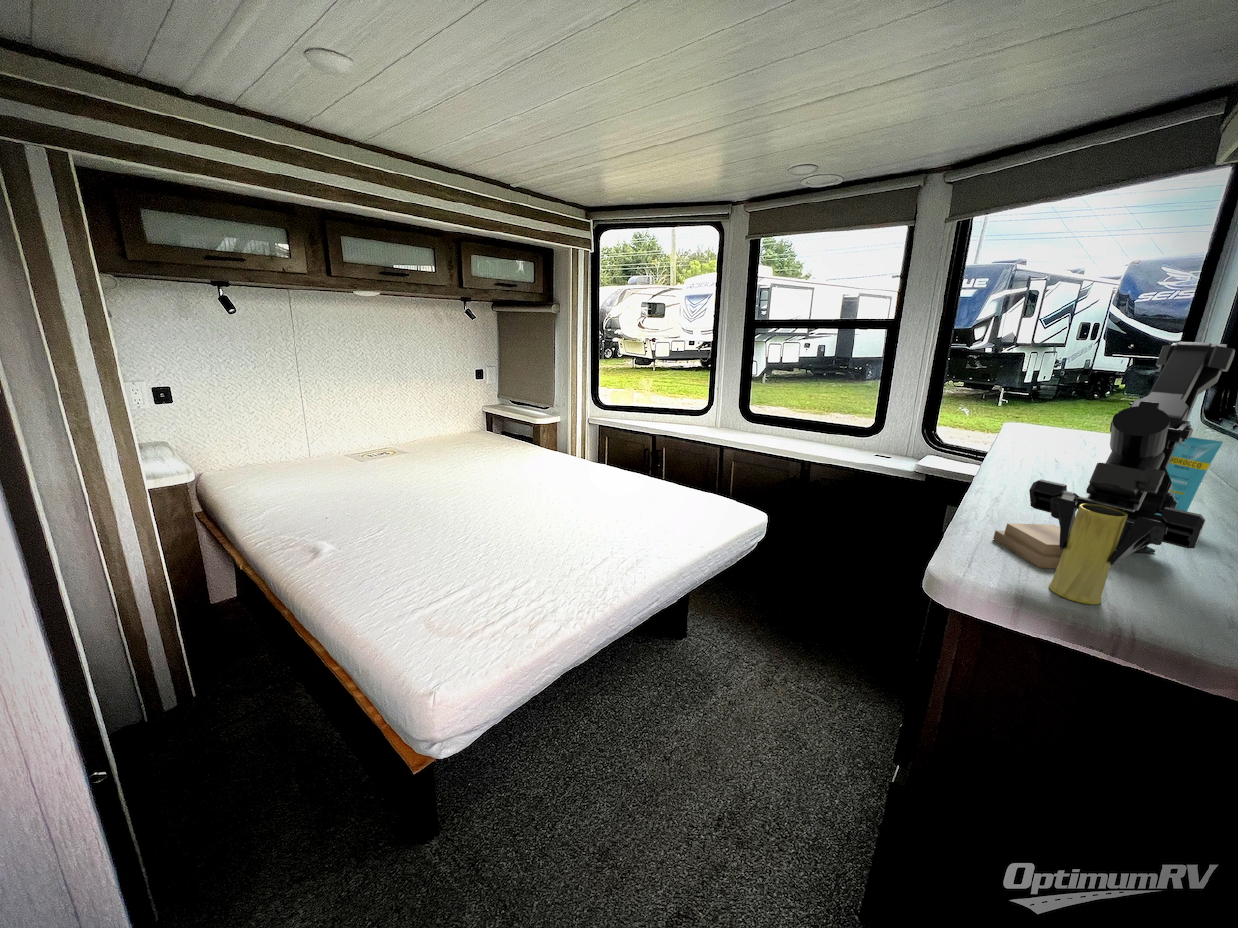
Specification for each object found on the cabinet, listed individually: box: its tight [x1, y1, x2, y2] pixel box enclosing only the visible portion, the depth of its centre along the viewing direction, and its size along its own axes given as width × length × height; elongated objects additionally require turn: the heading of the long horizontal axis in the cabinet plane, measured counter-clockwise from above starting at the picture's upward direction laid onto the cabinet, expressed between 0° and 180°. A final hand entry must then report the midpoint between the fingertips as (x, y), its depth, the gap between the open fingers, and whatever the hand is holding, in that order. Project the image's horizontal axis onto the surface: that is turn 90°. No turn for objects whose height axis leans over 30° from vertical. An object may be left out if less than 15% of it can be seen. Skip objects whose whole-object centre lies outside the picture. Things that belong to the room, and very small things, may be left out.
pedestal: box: [992, 522, 1064, 569], centre depth 88 cm, size 11×11×4 cm
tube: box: [1156, 436, 1224, 515], centre depth 102 cm, size 7×5×19 cm, turn 23°
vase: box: [1048, 504, 1128, 605], centre depth 73 cm, size 6×6×14 cm
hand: (1085, 555), depth 72 cm, fingers closed on vase, 5 cm apart
